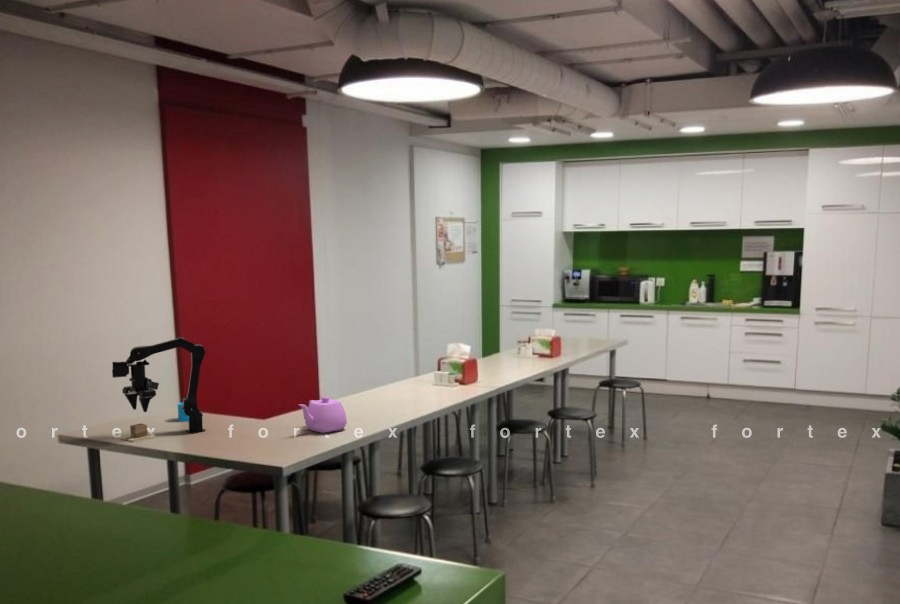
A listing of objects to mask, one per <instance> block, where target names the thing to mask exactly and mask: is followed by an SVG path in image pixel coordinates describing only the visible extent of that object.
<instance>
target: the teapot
mask: <svg viewBox="0 0 900 604" xmlns="http://www.w3.org/2000/svg"><path fill="white" fill-rule="evenodd" d="M320 398H321V399H318V400H317V399H316V400H314V399H311V400H309V401H308V407H307V405H306V404H302V403H301V404H298V406H300V407H301V408H302V413H303V414H302V415H303V419H304V420H305V421H304V423H305V425H306V427H307V429H308V430H311V431H312V432H319V433H322V434H326V432H327V433H330V432H335V431H340V430H343V429H345V427H346V426H347V423H348V421H347V420H348V419H347V415H346V411H345V408H344V406H343V404H342V402H341V401H339V400H337V399H331V398H330V396H328V395H327V396H321V397H320Z"/></svg>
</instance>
